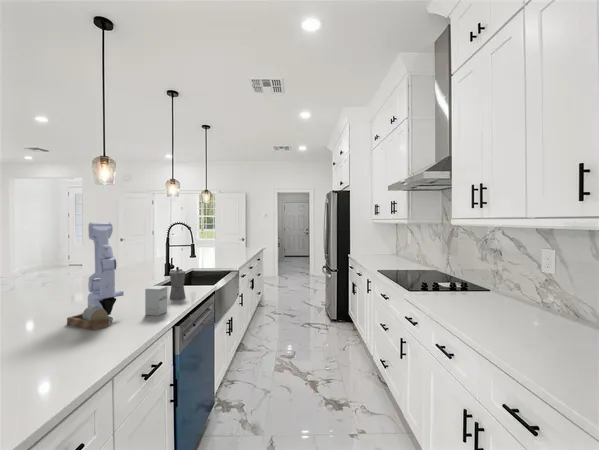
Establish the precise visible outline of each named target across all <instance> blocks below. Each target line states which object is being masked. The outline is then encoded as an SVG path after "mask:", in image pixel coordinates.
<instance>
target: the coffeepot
mask: <svg viewBox="0 0 599 450" xmlns="http://www.w3.org/2000/svg"><path fill="white" fill-rule="evenodd" d="M175 268H176V269H171V270H170V271H169V278H170V279H169V280H170V284H171V286H170V287H171V288H170V293H169V300H176V301H177V300H184V299H185V298H186V293H185V285H184V284H185V278H186V271H185V270H181V269H180V270H179V268H180V267H178V266H176V267H175Z"/></svg>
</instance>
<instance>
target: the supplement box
mask: <svg viewBox="0 0 599 450" xmlns="http://www.w3.org/2000/svg"><path fill="white" fill-rule="evenodd" d="M144 290H145V291H144V295H145V296H144V297H145V299H144V302H145V305H144V306H145V308H144V309H145V310H144V314H145V315H146V316H160V315H162V314H163V315H164V313H167V312H168V286H166V285H165V286H164V285H154V286H150V287H147V288H145V289H144Z"/></svg>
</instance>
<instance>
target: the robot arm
mask: <svg viewBox="0 0 599 450" xmlns="http://www.w3.org/2000/svg"><path fill="white" fill-rule="evenodd" d="M113 228H114V227H113V223H111V221H110V222H92V221H91V222H89V223H88V239H89V240H91V241H93V244H94V247H93V249H94V272H93V273H92V274H91V275H89V277H88V284H87V286H88V287H87V288H88V292H89V294H88V296H87V307H89V306H92V305H96V306H98V307H100V308H102V309H104V310H105V311H106V312H107V314H108V316H110V315H111V314H112V311H113V307H114V305H115V303H116V301H117V298H116V297H124V295H125V294H124V291H121V290H120V291H116V288H115V287H116V272H115V271H116V270H117V259H116V257H115V256H114V254H113V253H114V252H113V248H112V246H111V245H109V243H110V242H109V239H110V238H111V237H112V234H113Z"/></svg>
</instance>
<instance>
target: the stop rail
mask: <svg viewBox="0 0 599 450" xmlns="http://www.w3.org/2000/svg"><path fill="white" fill-rule="evenodd" d="M66 326H72V327H76V328H79V329H80V328H81V329H86V330H89V331H90V330H91V331H97V330H100V329H103V328H106V327H109V326H110V321H109V319H107V318H106V319H103V320H99V321H96V322H95V321H90V320H84V319H83V313H81V314H77V315H72V316H68V317H67V318H66Z"/></svg>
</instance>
